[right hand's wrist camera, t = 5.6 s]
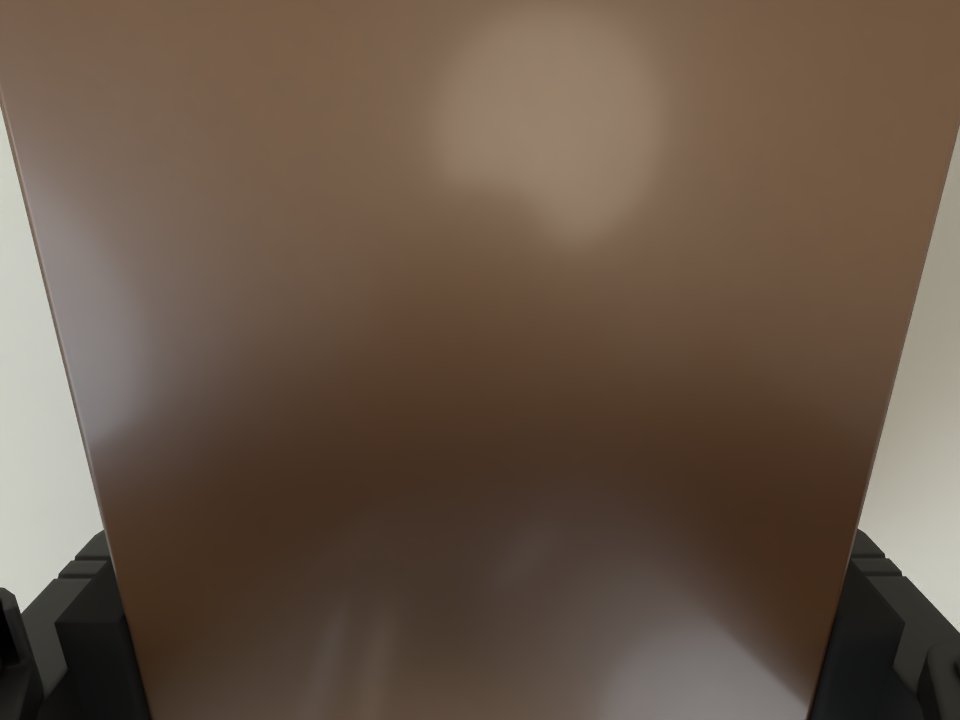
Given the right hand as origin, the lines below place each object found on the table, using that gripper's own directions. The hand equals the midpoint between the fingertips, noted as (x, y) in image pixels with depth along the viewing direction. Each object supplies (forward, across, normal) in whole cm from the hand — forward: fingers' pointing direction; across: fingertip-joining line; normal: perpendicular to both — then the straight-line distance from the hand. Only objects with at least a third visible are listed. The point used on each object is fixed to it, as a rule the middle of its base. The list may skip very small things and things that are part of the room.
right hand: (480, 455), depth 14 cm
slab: (0, 0, -21) cm, 21 cm away
